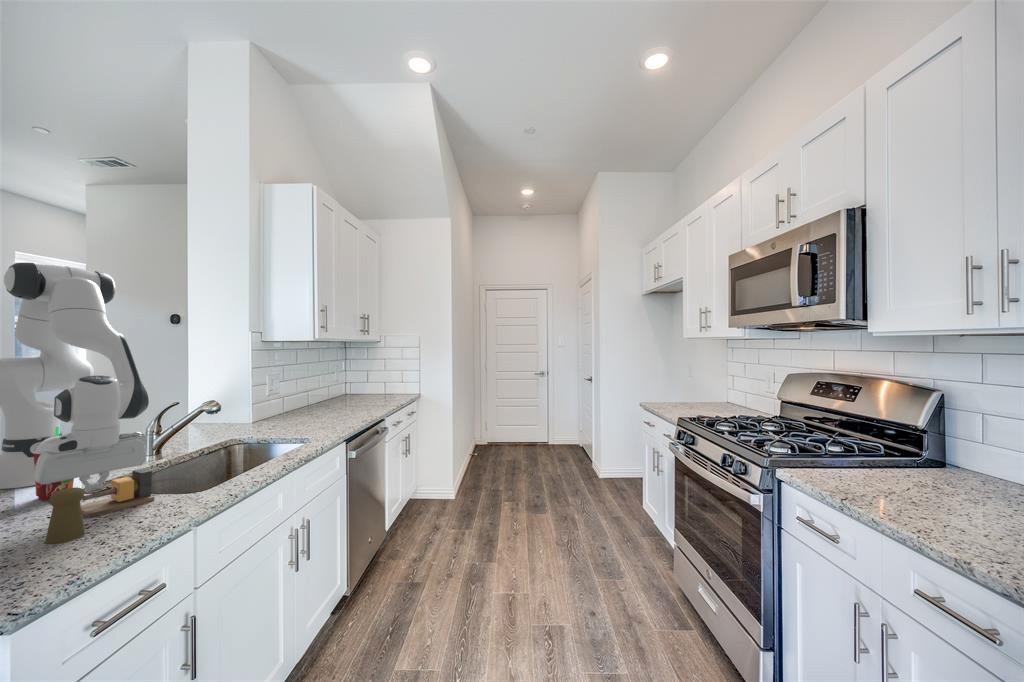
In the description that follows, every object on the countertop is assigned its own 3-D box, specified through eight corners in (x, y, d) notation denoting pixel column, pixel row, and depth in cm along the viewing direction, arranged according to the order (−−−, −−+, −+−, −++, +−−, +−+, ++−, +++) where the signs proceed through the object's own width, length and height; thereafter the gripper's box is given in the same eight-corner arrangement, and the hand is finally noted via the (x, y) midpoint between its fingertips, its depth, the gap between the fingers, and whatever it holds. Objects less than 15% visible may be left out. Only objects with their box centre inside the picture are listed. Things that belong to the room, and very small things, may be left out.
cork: (57, 546, 85) (59, 495, 86) (37, 542, 87) (39, 492, 87) (92, 533, 91) (94, 486, 91) (72, 530, 92) (74, 483, 93)
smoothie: (70, 498, 110) (73, 427, 111) (25, 505, 106) (28, 430, 106) (80, 489, 117) (83, 422, 118) (38, 495, 113) (41, 425, 113)
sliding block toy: (75, 510, 103) (76, 479, 103) (139, 494, 115) (140, 466, 115) (89, 517, 99) (90, 486, 99) (154, 500, 111) (155, 472, 111)
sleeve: (110, 498, 108) (111, 480, 108) (125, 494, 110) (126, 477, 110) (118, 501, 105) (119, 483, 106) (133, 498, 108) (134, 480, 108)
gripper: (141, 429, 114) (139, 477, 114) (32, 444, 96) (30, 501, 95) (151, 432, 111) (149, 481, 111) (42, 448, 93) (39, 506, 93)
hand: (93, 490), depth 103 cm, fingers closed
